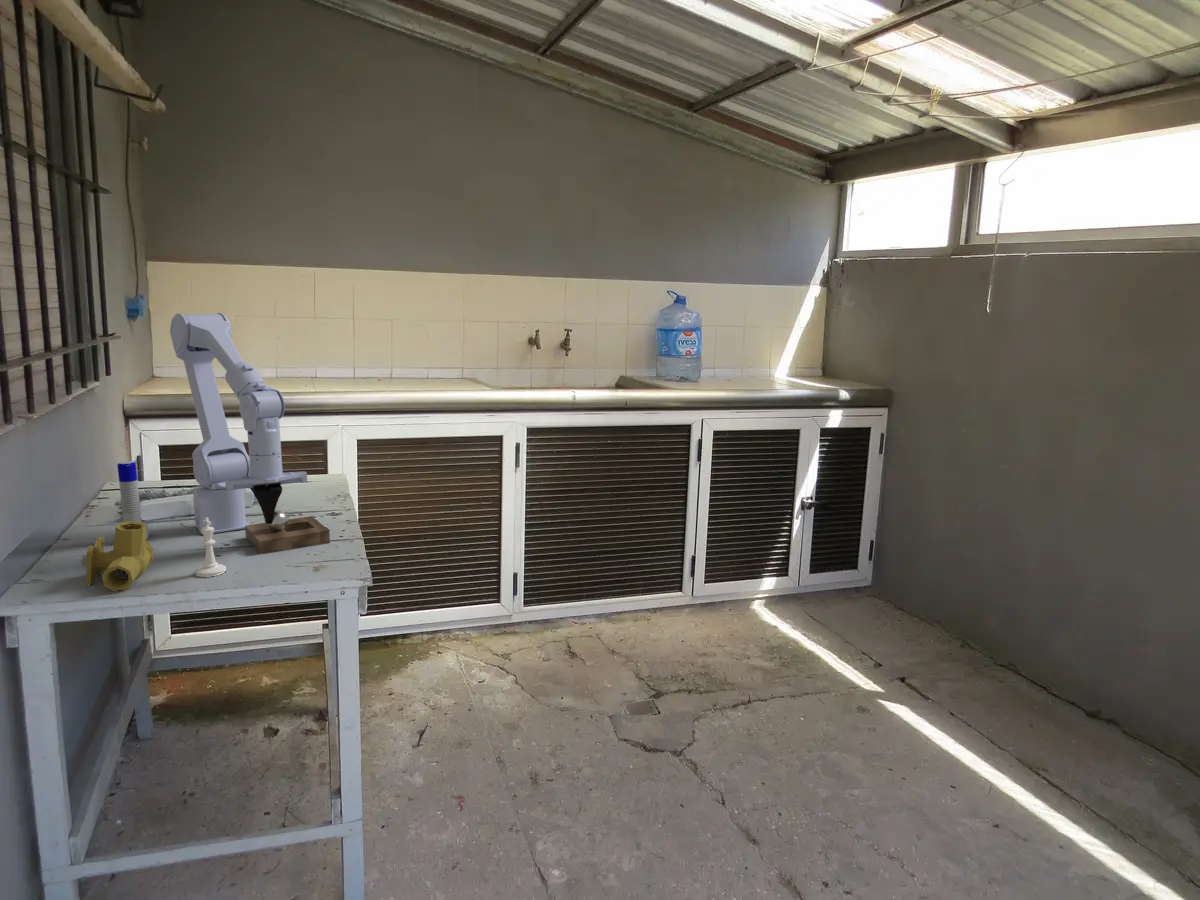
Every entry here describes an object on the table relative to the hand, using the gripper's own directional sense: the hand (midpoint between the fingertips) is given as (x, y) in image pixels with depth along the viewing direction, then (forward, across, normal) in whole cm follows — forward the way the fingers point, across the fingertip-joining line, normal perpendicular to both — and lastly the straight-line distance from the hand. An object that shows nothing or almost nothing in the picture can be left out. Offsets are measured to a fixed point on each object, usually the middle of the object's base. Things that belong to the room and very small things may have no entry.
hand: (270, 522), depth 157 cm
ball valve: (+5, -26, -6) cm, 28 cm away
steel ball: (0, +1, 0) cm, 1 cm away
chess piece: (+5, -13, -11) cm, 17 cm away
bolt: (+4, -22, +17) cm, 28 cm away
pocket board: (+4, +3, +1) cm, 6 cm away
